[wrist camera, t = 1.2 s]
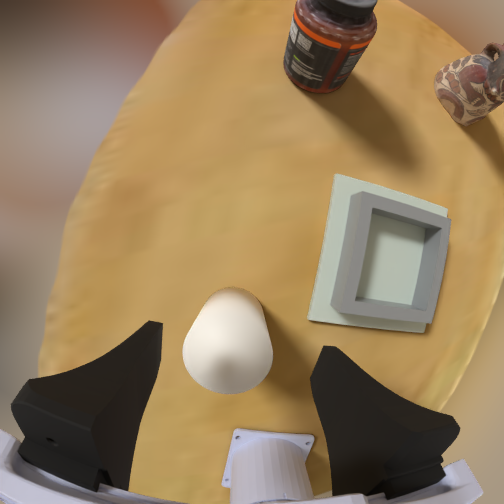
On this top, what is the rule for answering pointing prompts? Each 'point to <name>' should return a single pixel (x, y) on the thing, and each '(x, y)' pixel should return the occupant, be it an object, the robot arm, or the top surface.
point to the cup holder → (379, 258)
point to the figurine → (472, 85)
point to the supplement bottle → (327, 41)
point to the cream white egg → (229, 343)
